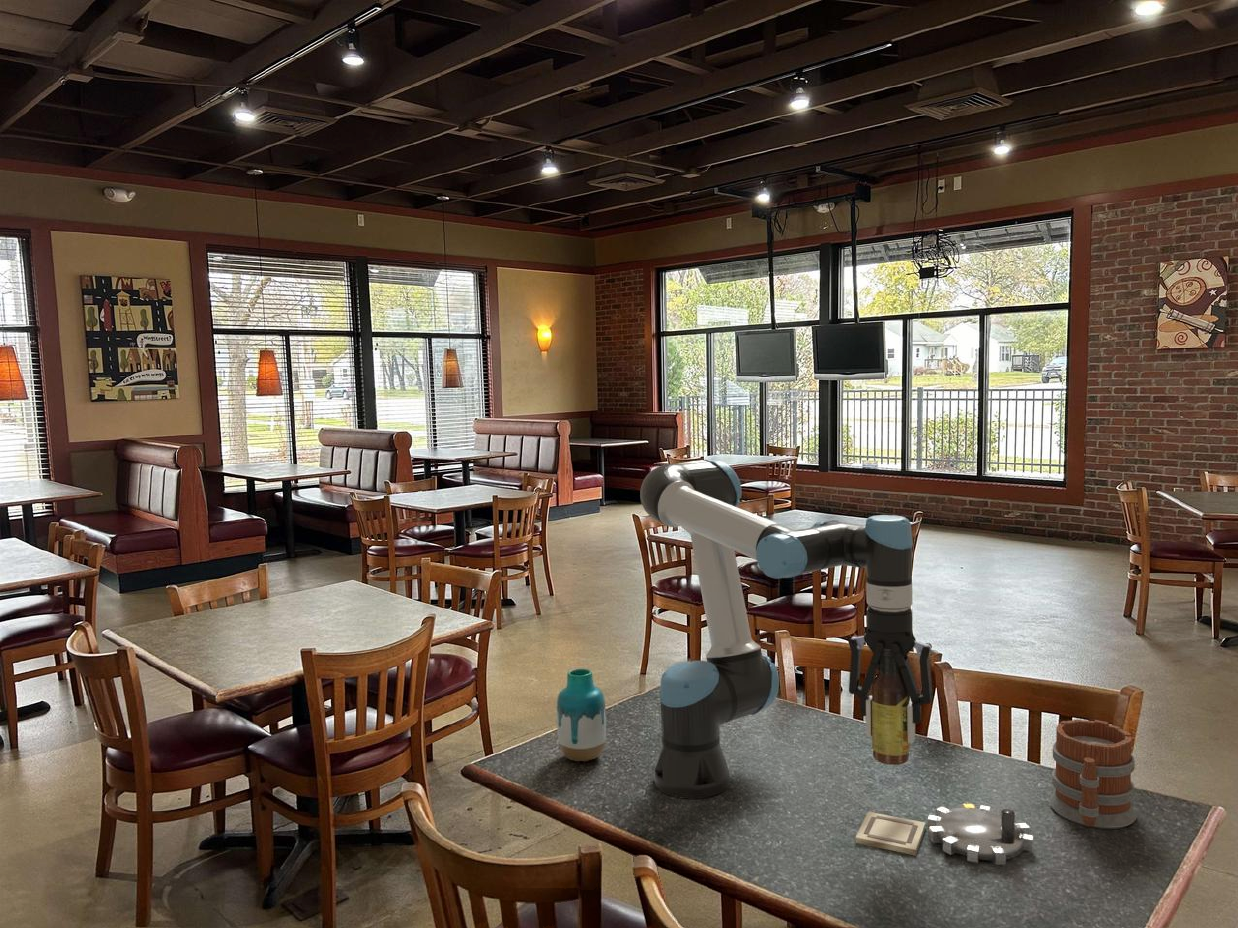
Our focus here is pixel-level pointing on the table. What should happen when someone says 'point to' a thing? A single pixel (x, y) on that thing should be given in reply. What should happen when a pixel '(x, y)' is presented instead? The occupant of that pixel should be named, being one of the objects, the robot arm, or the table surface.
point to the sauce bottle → (890, 713)
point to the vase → (581, 717)
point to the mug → (1093, 774)
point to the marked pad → (891, 833)
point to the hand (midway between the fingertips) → (890, 736)
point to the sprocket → (980, 833)
